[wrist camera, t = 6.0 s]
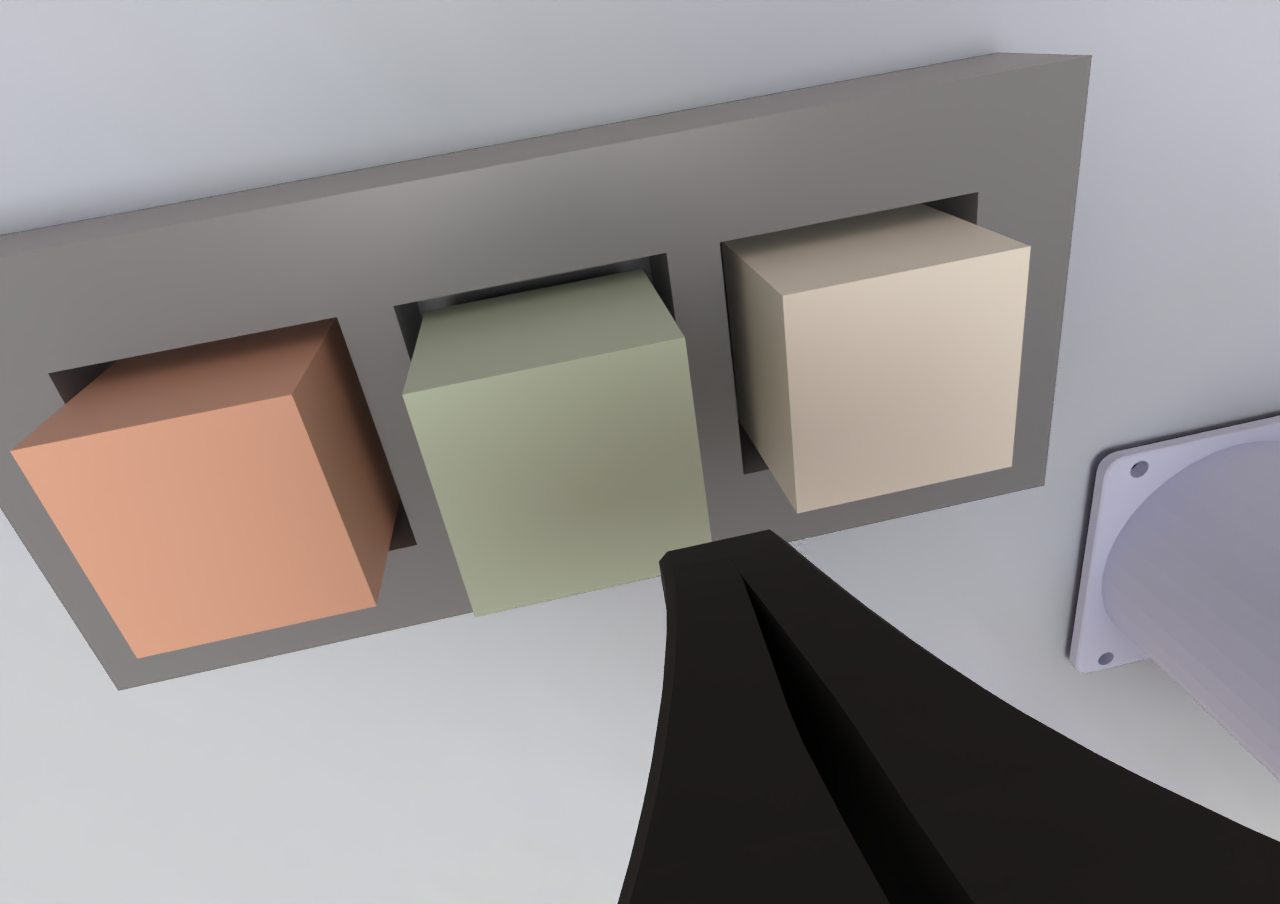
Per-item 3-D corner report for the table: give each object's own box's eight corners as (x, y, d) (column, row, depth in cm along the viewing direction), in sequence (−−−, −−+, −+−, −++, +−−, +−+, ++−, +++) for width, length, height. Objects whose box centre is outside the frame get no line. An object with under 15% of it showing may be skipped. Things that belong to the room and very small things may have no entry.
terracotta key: (338, 314, 16) (291, 394, 12) (401, 493, 18) (376, 606, 14) (122, 357, 15) (9, 451, 12) (210, 533, 17) (137, 658, 14)
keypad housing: (998, 52, 17) (1092, 55, 14) (975, 429, 21) (1044, 485, 18) (-34, 241, 15) (-145, 283, 13) (169, 602, 20) (118, 690, 17)
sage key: (642, 268, 15) (684, 337, 12) (671, 457, 17) (714, 563, 14) (424, 311, 15) (401, 394, 11) (480, 497, 17) (474, 616, 13)
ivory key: (917, 201, 16) (1031, 246, 13) (914, 385, 18) (1011, 466, 15) (721, 240, 16) (782, 296, 13) (739, 421, 18) (797, 513, 15)
